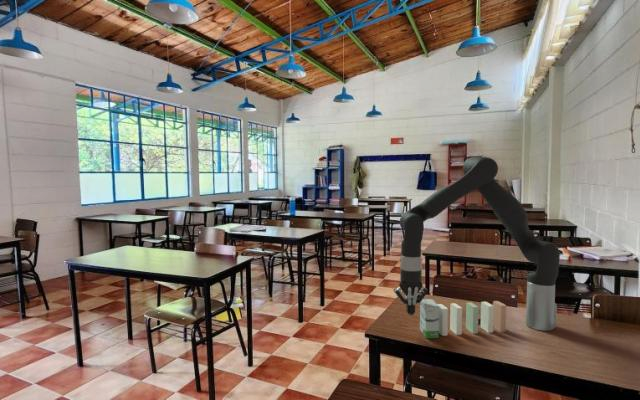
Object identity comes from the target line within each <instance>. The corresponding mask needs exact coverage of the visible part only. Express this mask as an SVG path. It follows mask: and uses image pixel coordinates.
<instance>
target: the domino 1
mask: <svg viewBox="0 0 640 400" xmlns="http://www.w3.org/2000/svg"><path fill="white" fill-rule="evenodd" d="M436 304H437V305H438V306H439V335H441V336H448V334H449V333H448V331H449V329H448V328H449V308H448V307H446V306H445V305H444V304H442V303H436Z"/></svg>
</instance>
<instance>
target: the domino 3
mask: <svg viewBox="0 0 640 400" xmlns="http://www.w3.org/2000/svg"><path fill="white" fill-rule="evenodd" d="M465 305H466V306H465V307H466V308H465V330H467V331H469V332H470V333H471V334H476V335H477V334H478V333H479V323H478V319H479V313H478V309H479V306H478V305H476V304H475V303H473V302H466V303H465Z"/></svg>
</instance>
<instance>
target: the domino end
mask: <svg viewBox="0 0 640 400" xmlns="http://www.w3.org/2000/svg"><path fill="white" fill-rule="evenodd" d="M492 305H493V306H494V318H493V329H494V328H495V330H497V331H498V332H500V333H503V332H506V331H507V330H506V329H507V327H506V326H507V325H506V323H507V305H506V304H505V303H503V302H501V301H499V300H493V301H492Z"/></svg>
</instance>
